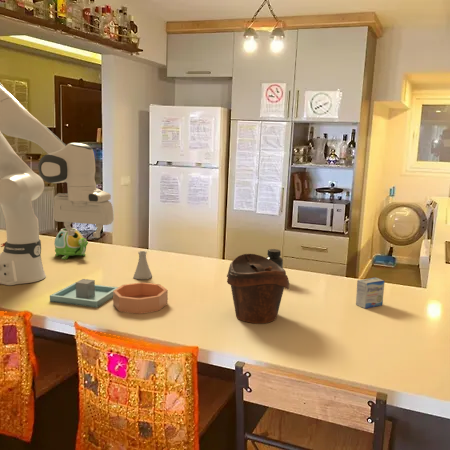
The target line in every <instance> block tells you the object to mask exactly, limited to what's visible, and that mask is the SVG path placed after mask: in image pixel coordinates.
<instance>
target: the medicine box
mask: <svg viewBox="0 0 450 450" xmlns="http://www.w3.org/2000/svg"><path fill="white" fill-rule="evenodd" d="M384 290H385V280H383V279H381V278H379V277H371V278H365V279H364V278H363V279H358V280H357V282H356V297H355V305H356V306H358V307H360V308H363V309H364V310H365V309H371V308H375V307H380V306H381V307H382V306H383V305H384V304H383V303H384V293H385V292H384Z"/></svg>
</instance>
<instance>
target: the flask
mask: <svg viewBox="0 0 450 450" xmlns="http://www.w3.org/2000/svg"><path fill="white" fill-rule="evenodd" d="M146 255H147V251H146V250H140V251H138V262H137V265H136V268H135V271H134V274H133V277H132V278H133V279H135V280H149V279H151V278H152V277H153V274H152V272H151V269H150V265H149V264H148V260H147V256H146Z"/></svg>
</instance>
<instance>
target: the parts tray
mask: <svg viewBox="0 0 450 450" xmlns="http://www.w3.org/2000/svg"><path fill="white" fill-rule="evenodd" d="M76 282H77V281H76ZM76 282H73V283H72V284H70V285H67V286H66V287H64V288H61V289H60V290H58V291H56V292H54V293H52V294H50V295H49V302H50V303H57V304H59V303H60V304H66V305H74V306H82V307H89V308H99V307H100V306H102V305H104V304H105V303H106V302H108V301H110V300H111V299H113V291H114V290H115V289H117V288H118V287H119V286H109V285H101V284H95V295H93V296H91V297H90V298H88V299H87V298H79V297H76Z"/></svg>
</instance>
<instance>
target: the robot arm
mask: <svg viewBox="0 0 450 450" xmlns="http://www.w3.org/2000/svg"><path fill="white" fill-rule="evenodd" d="M5 136H8V137H12V138H17V139H22V140H26V141H29V142H32V143H34V144H36V145H37V146H39V147H40V148H41V149H42V150H43V151H44V152H46V153H47V154H45V155H43V156H42V157H40V158H39V162H38V167H37V169H38V174H37V173H36V172H35V171H33V169H31V167H29V165H28V164H27V163H26V162H25V161H24V160H23V159H22V158H21V157H20V156H19V155H18V154H17V153H16V152H15V150H14V148H13V147H12V146H11V144H10V143H9V141H8V140H7V138H6V137H5ZM95 175H96V158H95V152H94V149H93V148H92V146H90V145H89V144H85V143H81V142H69V143H67V144H66V143H64V142H63V140H62V139H60V138H59V137H58V136H57V135H56V134H55V133H53V131H51V130H50V129H49V128H48V127H47V126H46V125H45V124H43V123H42V122H41V121H39V119H37V118H36V117H35V116H34V115H32V114H31V113H30V112H29V111H28V110H27V109H26V108H25V106H23V104H21V103H20V101H18V100H17V99H16V97H14V95H12V94H11V92H9V91H8V90H7V89H6V88H5V86H4V85H3V84H2V83H1V82H0V209H1V210H2V214H3V217H4V221H5V232H6V241H5V242H2V243H0V247H1V248H3V250H2V251H1V253H0V284H1V285H4V286H5V285H6V286H14V285H21V284H29V283H35V282H39V281H41V280H44V279H45V278H46V277H47V275H46V273H45V270H44V266H43V260H42V255H41V254H42V241H41V239H40V225H39V219H38V217H37V215H36V213H35V209H34V208H33V201H35V200H37V199H38V198H40V197H41V196H42V194H43V192H44V190H45V182H46V183H49V184H60V183H66V184H67V193H61V192H58V193H57V194H55V196H54V198H53V220H54V221H55V222H59V223H61V222H62V223H63V226H64V228H66V229H67V231H68V236H73V235H74V234H75V233H74V230H72V228H73V227H72V226H71V225H72V224H74V223H75V224H85V225H86V224H87V225H95V228H96V230H95V231H94V232H92V235H93V236H92V237H93V238H94V239H100V238H101V231H102V229H103V228H104V226H108V225H111V224H112V223H113V222H114V209H113V204H112V202H111V201H110V200H111V197H112V196H111V193H109V192H107V191H104V190H101V189H100V188H98V187H97V183H96V180H95ZM44 181H45V182H44Z"/></svg>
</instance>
